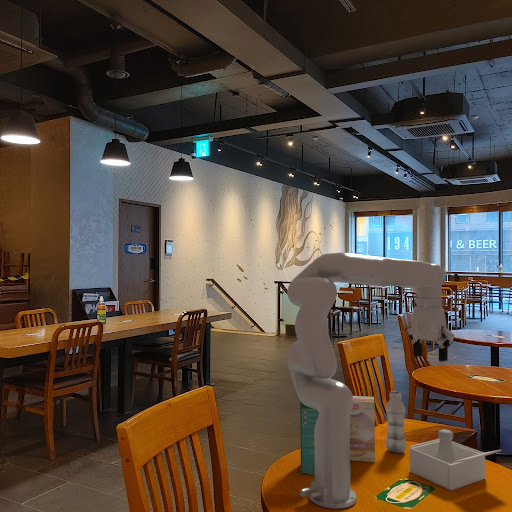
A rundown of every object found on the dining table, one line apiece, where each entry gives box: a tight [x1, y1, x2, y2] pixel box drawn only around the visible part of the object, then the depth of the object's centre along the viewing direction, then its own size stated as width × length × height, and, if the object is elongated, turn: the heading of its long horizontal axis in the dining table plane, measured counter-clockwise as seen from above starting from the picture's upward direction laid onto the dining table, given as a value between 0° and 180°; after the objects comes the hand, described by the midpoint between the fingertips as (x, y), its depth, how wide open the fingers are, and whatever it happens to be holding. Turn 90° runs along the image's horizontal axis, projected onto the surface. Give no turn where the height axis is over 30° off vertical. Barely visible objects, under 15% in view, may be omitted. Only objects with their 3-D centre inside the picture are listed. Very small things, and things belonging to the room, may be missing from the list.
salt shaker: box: [437, 428, 455, 464], centre depth 142 cm, size 6×6×13 cm
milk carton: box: [299, 400, 319, 475], centre depth 148 cm, size 9×9×25 cm
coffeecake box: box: [350, 395, 376, 463], centre depth 157 cm, size 15×7×20 cm, turn 77°
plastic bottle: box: [385, 390, 407, 454], centre depth 162 cm, size 6×7×20 cm
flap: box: [453, 449, 502, 463], centre depth 133 cm, size 13×6×1 cm, turn 119°
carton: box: [409, 438, 486, 492], centre depth 142 cm, size 16×16×7 cm
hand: (430, 358), depth 147 cm, fingers open, 9 cm apart
